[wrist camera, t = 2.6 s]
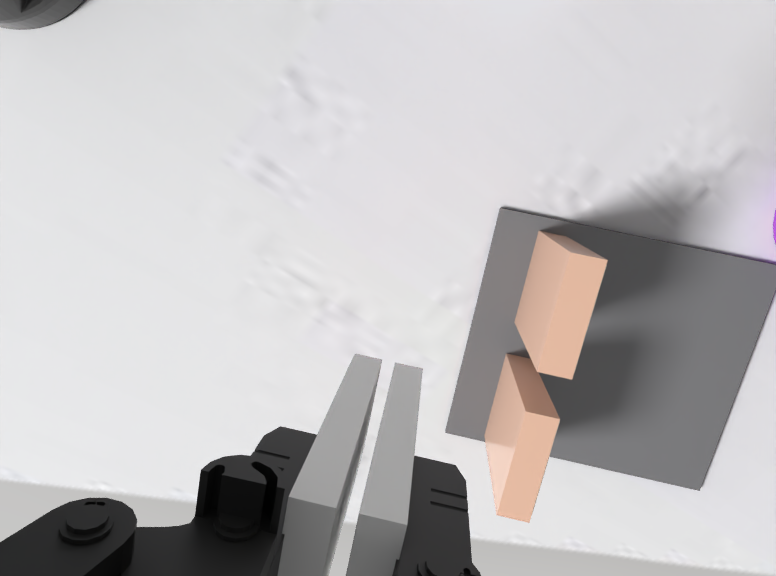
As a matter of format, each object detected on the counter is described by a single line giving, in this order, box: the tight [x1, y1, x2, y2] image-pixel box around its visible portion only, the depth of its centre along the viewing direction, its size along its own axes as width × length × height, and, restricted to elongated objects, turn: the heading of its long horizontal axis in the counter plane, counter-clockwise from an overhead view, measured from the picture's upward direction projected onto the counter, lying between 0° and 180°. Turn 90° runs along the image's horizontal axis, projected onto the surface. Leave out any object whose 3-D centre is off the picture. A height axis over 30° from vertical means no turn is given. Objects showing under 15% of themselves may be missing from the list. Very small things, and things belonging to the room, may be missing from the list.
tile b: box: [484, 353, 560, 523], centre depth 37 cm, size 7×2×10 cm, turn 169°
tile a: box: [514, 231, 608, 380], centre depth 35 cm, size 7×2×10 cm, turn 169°
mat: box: [445, 208, 776, 491], centre depth 41 cm, size 18×20×1 cm
